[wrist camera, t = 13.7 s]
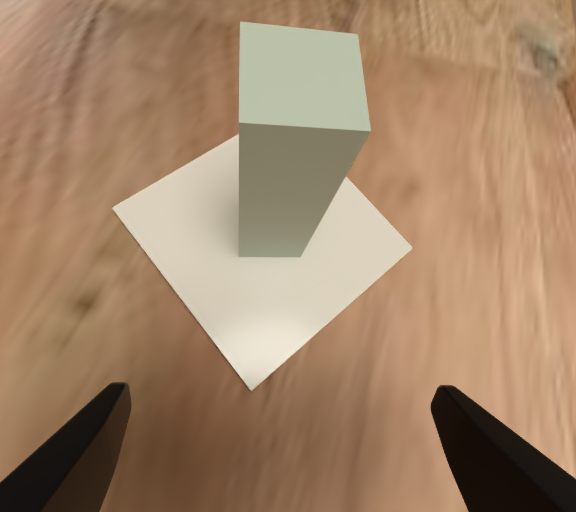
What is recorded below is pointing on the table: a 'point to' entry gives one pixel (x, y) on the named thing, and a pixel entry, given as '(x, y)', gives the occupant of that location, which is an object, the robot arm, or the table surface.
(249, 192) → the block
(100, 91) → the table surface
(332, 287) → the tile
